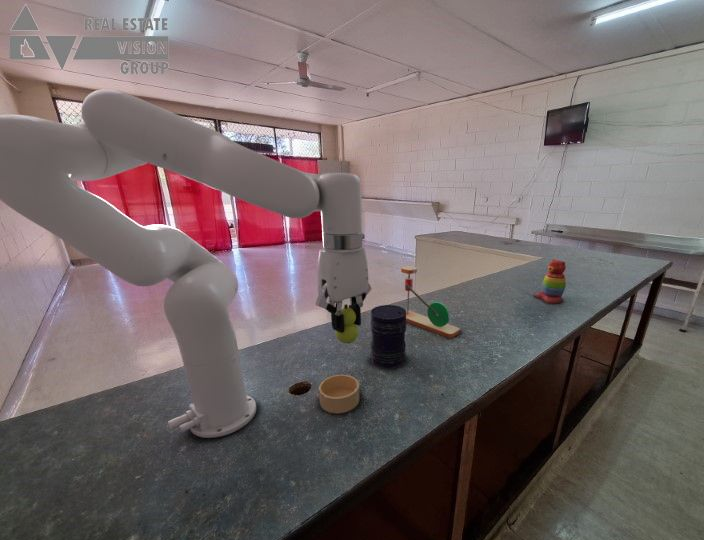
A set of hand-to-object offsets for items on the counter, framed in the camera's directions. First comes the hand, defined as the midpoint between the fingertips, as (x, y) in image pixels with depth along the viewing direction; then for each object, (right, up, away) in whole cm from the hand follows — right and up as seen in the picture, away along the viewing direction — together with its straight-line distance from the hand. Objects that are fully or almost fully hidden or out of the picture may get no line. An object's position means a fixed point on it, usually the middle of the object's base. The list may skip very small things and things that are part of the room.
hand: (346, 326), depth 67 cm
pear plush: (0, -4, +1) cm, 4 cm away
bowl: (-3, -18, +6) cm, 19 cm away
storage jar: (+8, -12, +24) cm, 28 cm away
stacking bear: (+79, +6, +75) cm, 110 cm away
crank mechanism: (+21, -3, +47) cm, 51 cm away
